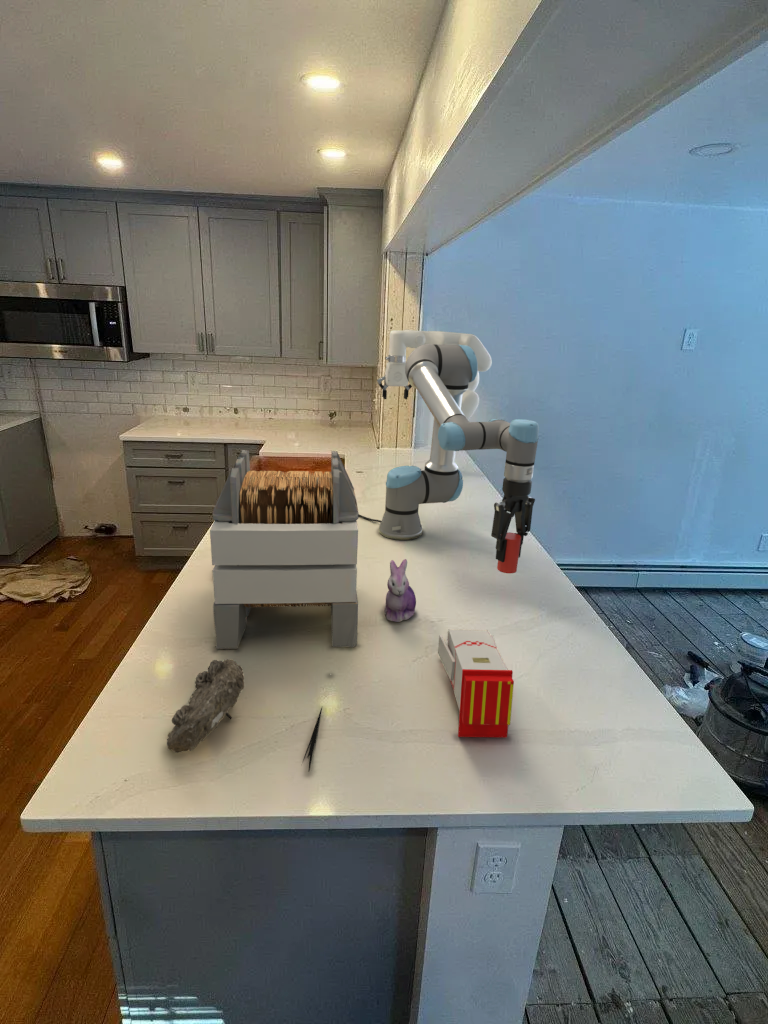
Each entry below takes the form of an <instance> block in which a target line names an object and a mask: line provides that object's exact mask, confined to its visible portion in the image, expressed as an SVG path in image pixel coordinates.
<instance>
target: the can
mask: <svg viewBox="0 0 768 1024" xmlns="http://www.w3.org/2000/svg"><path fill="white" fill-rule="evenodd" d="M516 533H517V532H509V531H507V534H506V537H505V539H506V540H507V545H506V553H505V561H504V562H501V561H499V560H497V565H496V569H497V571H498V572H500V573H503V574H515V573H517V571H518V565H519V564H518V562H519V558H518V557H519V550H520V542H521V536H520V535H518V534H516ZM501 535H502V534H501Z"/></svg>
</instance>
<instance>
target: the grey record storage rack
mask: <svg viewBox="0 0 768 1024" xmlns="http://www.w3.org/2000/svg"><path fill="white" fill-rule="evenodd" d="M330 459H331V460H330V461H331V462H330V466H331V467H330V471H324V472H323V471H320V470H319V471H317V470H316V471H315V470H314V472H310V471H309V470H288V471H281V470H278V471H277V470H259V471H258V470H251V464H250V450H249V449H247V450H246V449H241V450H240V453H239V455H238V457H237V459H236V461H235V463H234V465H233V467H232V468H231V470H230V472H229V474H228V477H227V479H226V481H225V483H224V485H223V488H222V490H221V492H220V495H219V497H218V499H217V501H216V503H215V506H214V507H213V510H212V520H213V523H212V524H211V527H210V529H209V538H210V555H211V565H212V566H214V567H213V569H212V584H213V600H214V601H213V605H212V610H213V611H212V612H213V624H214V633H215V646H214V648H215V649H216V650H222V651H223V649H225V650H227V649H229V650H230V649H233V650H234V649H235V650H237V649H238V648H239V646H240V643H241V641H242V638H243V635H244V633H245V630H246V628H247V618H249V615H250V612H251V608H270V607H272V608H276V607H277V608H279V607H280V608H282V607H285V608H288V607H291V608H294V607H295V608H296V607H306V606H307V607H326V606H328V607H330V617H331V618H330V620H331V621H330V625H331V626H330V627H331V647H333V648H335V647H337V648H338V647H339V648H340V647H347V648H354V647H356V646H358V622H359V621H358V618H359V600H358V592H357V583H358V568H357V564H358V547H359V546H358V545H359V528H358V527H359V526H358V520H359V515H360V514H359V507H358V502H357V498H356V497H357V496H356V493H355V492H356V491H355V487H354V485H353V482H352V481H351V478H350V477H349V474H348V472H347V470H346V468H345V465H344V463H343V461H342V459H341V457H340V455H339V453H338V451H337V450H331V458H330Z"/></svg>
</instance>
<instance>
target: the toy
mask: <svg viewBox="0 0 768 1024" xmlns="http://www.w3.org/2000/svg"><path fill="white" fill-rule="evenodd" d="M446 640H447V643H446V641H445V639H444V636H443V635H442V634H439V637H438V646H437V656H438V657H439V659H440V661H441V663H442V666H443V668H444V670H445V672H446V674H447V677H448V679H449V681H450V684H451V687H452V690H453V693H454V697H455V701H456V705H457V708H458V711H459V714H458V715H459V716H458V730H457V731H458V732H457V737H458V738H508V731H509V726H510V725H511V717H512V707H513V697H514V696H513V695H514V684H515V680H514V679H513V673H514V671H513V670H512V669H508V667H507V665H506V662H505V661H504V659H503V658H502V655H501V653H500V651H499V649H498V647H497V643H496V639H495V637H494V635H493V634H491V632H490V631H489V629H467V628H466V629H465V628H463V629H461V628H460V629H459V628H448V630H447V639H446Z"/></svg>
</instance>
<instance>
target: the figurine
mask: <svg viewBox="0 0 768 1024" xmlns="http://www.w3.org/2000/svg"><path fill="white" fill-rule="evenodd" d="M407 567H408V559H406V558H404V559H403V560H402V561H401V563H400V565H399V566H398V565H397V563H396V562H395V561H394V560H393V559H391V560H390V561H389V570H390V576H389V578H388V579H387V589H388V591H387V592H386V594H385V595H386V596H385V607H384V615H385V616H386V620H387V621H391V622H395V623H400V622H402V621H406V620H409V619H410V618H411V617H413V616H414V615H415V610H416V606H417V597H416V593H415V591H414V590H413V587H411V586H410V582H409V579H408V577H407V574H406V571H407Z"/></svg>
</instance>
